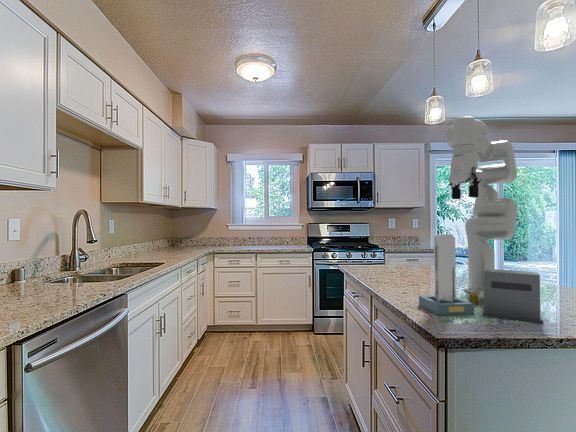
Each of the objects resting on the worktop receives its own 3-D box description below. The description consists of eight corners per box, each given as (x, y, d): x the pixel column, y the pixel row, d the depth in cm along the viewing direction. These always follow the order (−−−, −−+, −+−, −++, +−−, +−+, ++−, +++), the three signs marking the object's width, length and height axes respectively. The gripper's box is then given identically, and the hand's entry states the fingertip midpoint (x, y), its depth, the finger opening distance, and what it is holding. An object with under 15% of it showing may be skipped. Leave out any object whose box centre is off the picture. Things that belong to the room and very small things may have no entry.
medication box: (477, 298, 122) (477, 288, 122) (485, 299, 120) (485, 289, 121) (470, 305, 113) (469, 294, 113) (478, 306, 111) (478, 295, 112)
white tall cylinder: (458, 311, 103) (457, 234, 103) (437, 310, 104) (436, 234, 104) (452, 306, 109) (451, 233, 109) (432, 305, 110) (431, 233, 111)
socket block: (451, 304, 113) (451, 294, 113) (474, 314, 101) (474, 303, 101) (419, 305, 112) (418, 295, 112) (438, 316, 100) (438, 305, 100)
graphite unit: (482, 310, 106) (481, 268, 106) (539, 316, 98) (538, 271, 99) (482, 316, 99) (481, 271, 100) (543, 324, 92) (542, 275, 92)
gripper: (440, 156, 125) (441, 199, 124) (470, 145, 107) (470, 196, 107) (458, 156, 125) (459, 199, 125) (490, 146, 108) (491, 196, 108)
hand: (464, 198), depth 116 cm, fingers open, 9 cm apart
